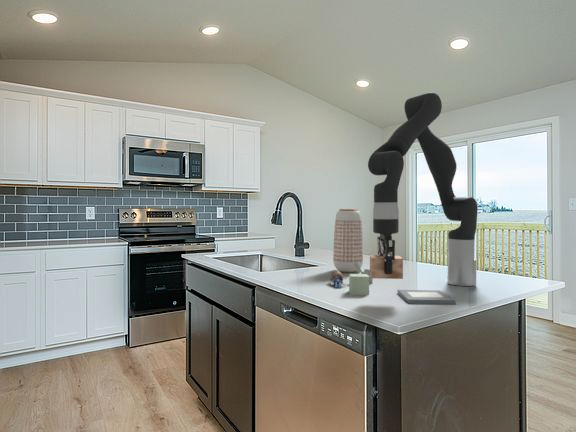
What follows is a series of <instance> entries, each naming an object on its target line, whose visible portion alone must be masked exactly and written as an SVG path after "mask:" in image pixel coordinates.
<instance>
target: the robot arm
mask: <svg viewBox="0 0 576 432" xmlns="http://www.w3.org/2000/svg"><path fill="white" fill-rule="evenodd" d="M442 106H443V105H442V99H441V97H440V95H439V94H438V93H436V92H433V91H430V92H425V93H422V94H419V95H415V96H412V97H410V98H409V97H408V98H407V99H406V101H405V102H404V113H405V116H406V119H407V120H406V121H405V122H403V123H402V124H401V125H399V127H398V128H397V129H396V130H395V131H394V132H392V133H391V136H390V137H389V138H388V140H387V141H386V142H385V143H383V144H382V145H380V146H379V147H378V148H377V149H375V150H374V151H373V152H372V154H371V155H370V157H369V158H368V161H367V167H368V170H369V172H370V173H371V174H372V175H373V176H386V177H385V179H384V181H382V182H380V183H377V184H375V185H374V188H373V208H372V219H373V220H372V231H373V233H374V234H379V236H377V256H384V273H385V274H392V262H393V260H395V256H396V255H395V254H396V240H395V239H393V236H392V234H394V235H395V234H398V233H399V231H400V230H399V223H400V222H399V203H398V200H399V199H398V198H399V195H398V190H399V186H400V182H401V179H402V178H401V177H402V176H403V175H402V173H403V171H404V167H405V166H404V165H405V161H404V157H405V155H407V153H408V152H409V150H410V148H411V147H412V145H413V144H414V143H415V141H416V140H417V141H418V143H419V146H420V148H421V151H422V153H423V156H424V159H425V161H426V164H427V166H428V169H429V172H430V175H431V176H432V178H433V181H434V184H435V186H436V190H437V192H438V195H439V200H440V203H441V207H442V212H443V213H444V215H445V217H446V219H448V220H449V221H454V222H460V225H459V226H458V227H457V228H455V229H451V230H449V232H448V235H447V238H448V239H447V277H446V278H447V284H448V285H452V286H459V287H460V286H462V287H473V286H476V285H477V263H478V262H477V259H475V243H476V242H475V237H476V232H477V224H478V223H477V222H478V221H477V220H478V210H479V209H478V203H477V201H476V199H475V198H474V197H472V196H456V195H455V193H454V190H453V181H454V178H455V176H456V173H457V166H458V165H457V161H456V159H455V156H454V153H453V150H452V148H451V147H450V146H449V145H448V144H447V143H446V142H445V141H444V140H443V139H441V138H439V137H438V136H437V135H436V134H435V133H434V132H433V131H431V129H430V127H429V126H430V125H431V124H432V123H433V122H434V121H435V120H436V119H438V118H439V116H440V114H441V112H442V109H443V107H442Z"/></svg>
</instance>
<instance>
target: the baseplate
mask: <svg viewBox="0 0 576 432" xmlns="http://www.w3.org/2000/svg"><path fill="white" fill-rule="evenodd" d="M397 295H398V296H399V297H401V298H402V299H403V300H404V301H405V302H406V303H408V304H418V305H419V304H422V305H425V304H426V305H456V304H457V303H456V299H454V298H452V297H451V296H450V295H448V294H446V293H445V292H443V291H442V290H435V289H428V290H427V289H397Z"/></svg>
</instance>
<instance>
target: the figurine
mask: <svg viewBox="0 0 576 432" xmlns="http://www.w3.org/2000/svg"><path fill="white" fill-rule="evenodd" d="M330 281H331V282H330V285H334V288H335V289H341V288H342V285H343V286H344V285H346V283H345V282H344V275H343V272H340V271H338V270H334V271H331V273H330Z"/></svg>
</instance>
